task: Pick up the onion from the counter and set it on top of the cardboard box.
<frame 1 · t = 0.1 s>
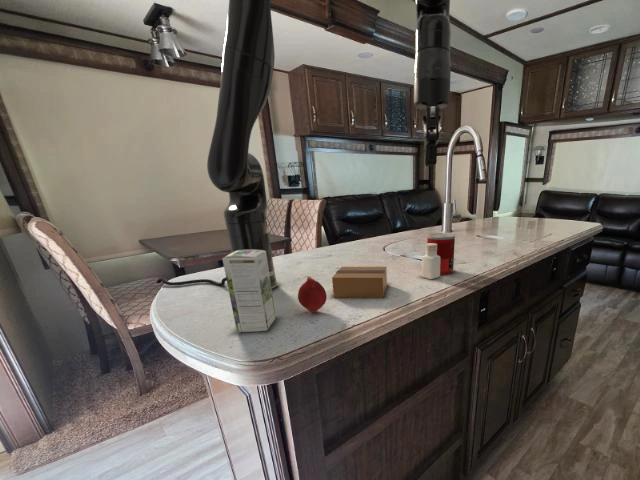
hand: (430, 165, 71), 29 cm above the countertop, tool pointing down, fingers open, 8 cm apart
cardboard box: (361, 290, 80), on the countertop
pepper shaker: (430, 277, 91), on the countertop
canned food: (439, 272, 96), on the countertop
onion: (314, 312, 68), on the countertop
syrup box: (258, 326, 62), on the countertop
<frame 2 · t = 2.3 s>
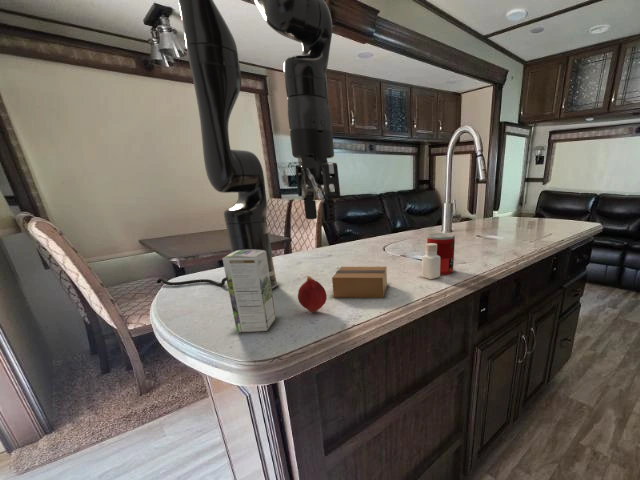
hand: (320, 221, 63), 19 cm above the countertop, tool pointing down, fingers open, 8 cm apart
nothing on the countertop moved.
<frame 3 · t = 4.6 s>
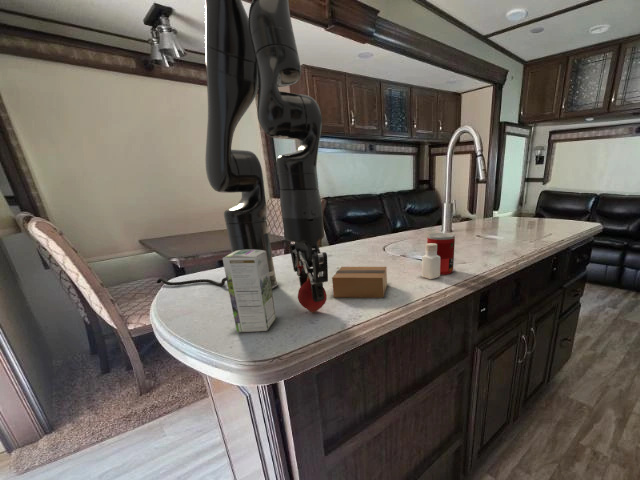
hand: (312, 296, 66), 4 cm above the countertop, tool pointing down, fingers closed on onion, 6 cm apart
onion: (314, 312, 68), on the countertop, touching gripper
everything else where it was.
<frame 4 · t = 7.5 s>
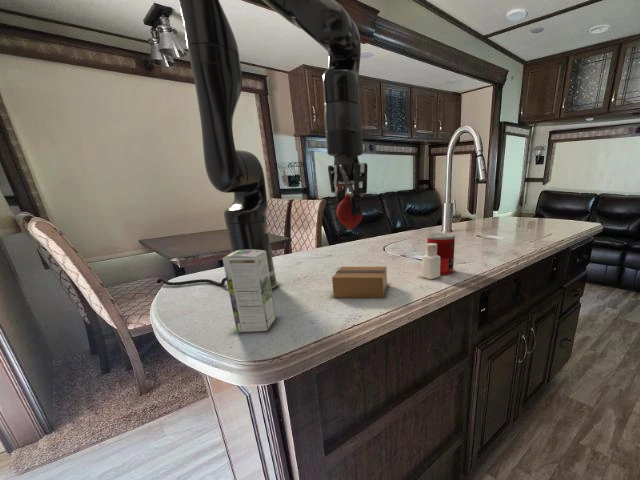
hand: (349, 213, 71), 19 cm above the countertop, tool pointing down, fingers closed on onion, 6 cm apart
onion: (350, 230, 73), point 15 cm above the countertop, touching gripper
everything else where it was.
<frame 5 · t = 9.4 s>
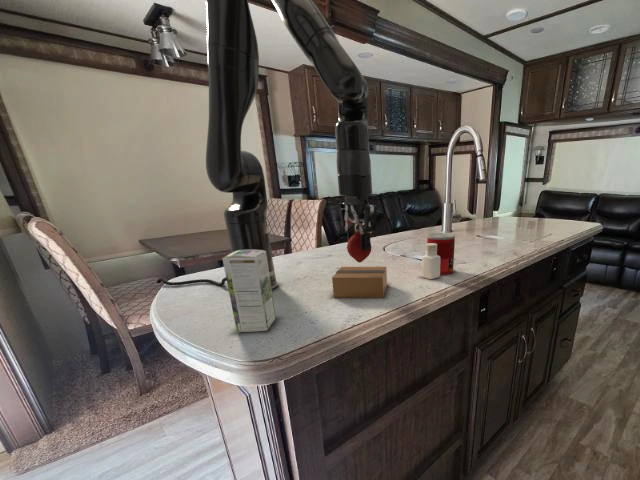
hand: (359, 247, 76), 11 cm above the countertop, tool pointing down, fingers closed on onion, 6 cm apart
onion: (360, 263, 78), point 7 cm above the countertop, touching gripper
everything else where it was.
when the fingers open (9 cm above the countertop, at t = 10.6 s): onion stays where it is, resting on cardboard box.
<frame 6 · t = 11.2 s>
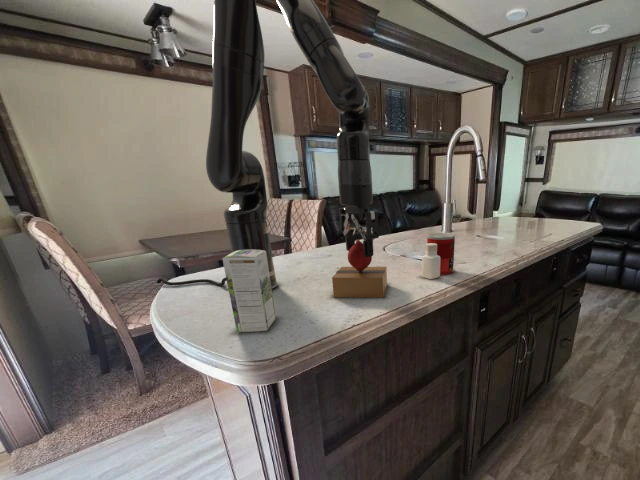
hand: (359, 253, 77), 10 cm above the countertop, tool pointing down, fingers open, 8 cm apart
onion: (360, 272, 79), point 5 cm above the countertop, touching cardboard box
everything else where it was.
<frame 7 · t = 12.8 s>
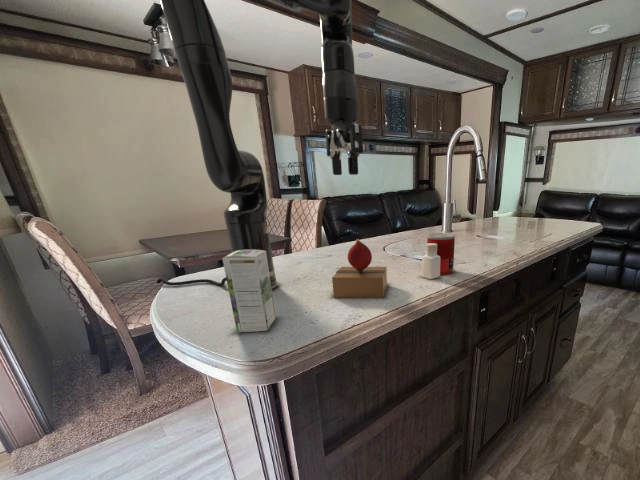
hand: (345, 174, 78), 28 cm above the countertop, tool pointing down, fingers open, 8 cm apart
nothing on the countertop moved.
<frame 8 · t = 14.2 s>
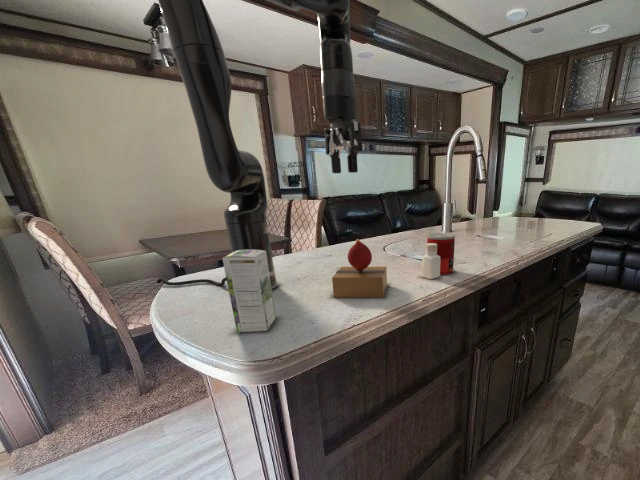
hand: (344, 172, 78), 28 cm above the countertop, tool pointing down, fingers open, 8 cm apart
nothing on the countertop moved.
at the end: onion inside the target area on the cardboard box (0.0 cm from its centre), point 4.9 cm above the cardboard box's base; the gripper is holding nothing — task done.
